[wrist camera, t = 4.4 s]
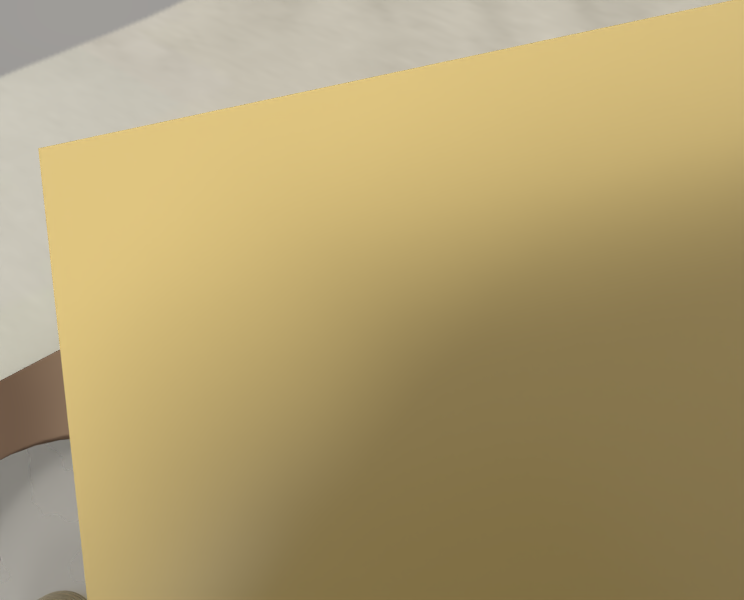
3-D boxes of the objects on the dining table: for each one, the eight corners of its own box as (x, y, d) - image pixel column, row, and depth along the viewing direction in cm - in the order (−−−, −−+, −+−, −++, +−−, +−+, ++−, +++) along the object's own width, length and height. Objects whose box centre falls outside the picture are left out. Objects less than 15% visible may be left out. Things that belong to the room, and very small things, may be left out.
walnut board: (419, 170, 18) (424, 155, 17) (672, 532, 15) (696, 540, 14) (-195, 494, 14) (-240, 501, 13) (-38, 1081, 11) (-81, 1154, 10)
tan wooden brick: (514, 487, 14) (1305, 849, 2) (334, 545, 13) (175, 1446, 2) (454, 312, 15) (758, -5, 4) (289, 358, 15) (37, 147, 3)
